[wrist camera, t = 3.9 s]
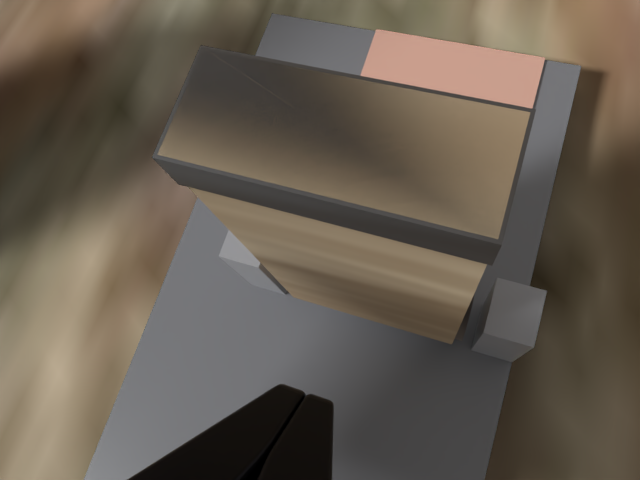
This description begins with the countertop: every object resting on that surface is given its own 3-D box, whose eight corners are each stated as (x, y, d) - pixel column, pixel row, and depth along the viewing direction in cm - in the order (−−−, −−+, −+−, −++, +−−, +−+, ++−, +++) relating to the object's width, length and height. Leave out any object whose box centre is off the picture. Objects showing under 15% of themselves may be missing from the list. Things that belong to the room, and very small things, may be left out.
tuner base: (382, 891, 12) (368, 1085, 8) (18, 691, 14) (-114, 779, 11) (572, 86, 17) (613, -5, 13) (278, 33, 19) (248, -56, 16)
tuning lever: (458, 352, 14) (516, 248, 6) (290, 302, 15) (141, 154, 7) (474, 290, 14) (551, 111, 6) (309, 245, 15) (191, 43, 7)
